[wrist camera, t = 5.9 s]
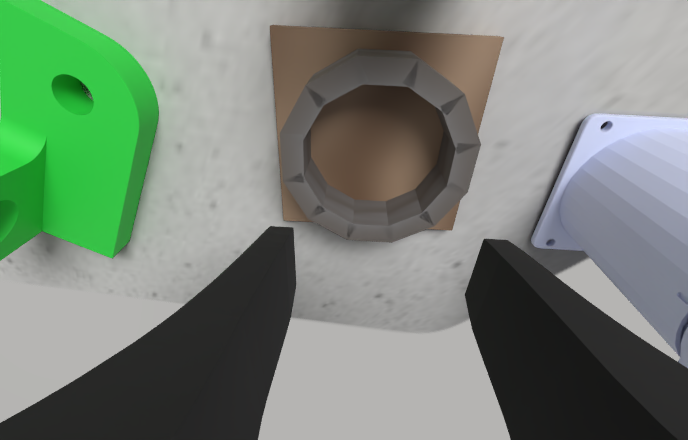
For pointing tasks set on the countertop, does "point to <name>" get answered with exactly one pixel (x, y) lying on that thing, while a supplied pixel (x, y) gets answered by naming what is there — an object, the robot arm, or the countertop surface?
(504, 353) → the robot arm
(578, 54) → the countertop surface
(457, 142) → the collar holder
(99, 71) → the mechanical part
